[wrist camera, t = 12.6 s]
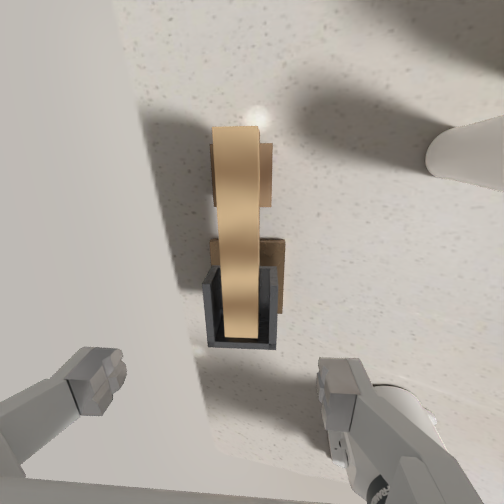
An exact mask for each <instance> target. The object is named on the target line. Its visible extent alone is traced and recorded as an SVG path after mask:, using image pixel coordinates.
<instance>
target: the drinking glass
mask: <svg viewBox="0 0 504 504" xmlns="http://www.w3.org/2000/svg"><path fill="white" fill-rule="evenodd" d="M425 162H426V167H427V169H428V171H429V172H430V173H431V174H432V175H433V176H435V177H437V178H441V179H448V180H454V181H459V182H463V183H467V184H471V185H476V186H480V187H484V188H488V189H492V190H496V191H500V192H504V115H501V116H497V117H494V118H491V119H487V120H484V121H480V122H476V123H473V124H469V125H466V126H460V127H455V128H451V129H448V130H446V131H444V132H443V133H441V134H440V135H438V136H437V137H436V138H435V139H434V140H433V141H432V143H431V144H430V146H429V148H428V150H427V153H426V158H425Z"/></svg>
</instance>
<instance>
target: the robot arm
mask: <svg viewBox="0 0 504 504" xmlns="http://www.w3.org/2000/svg"><path fill="white" fill-rule="evenodd" d="M122 357H123V353H122V351H121V350H120V349H113V348H99V347H83V348H81V349H79V350H78V351H77V352H76V353H75V354H74V355H73V356H72V357H71V358H70V359H69V360H68V361H67V362H66V363H65V364H64V365H63V366H62V367H61V368H60V369H59V370H58V371H57V372H56V373H55V374H54V375H53V376H52V377H51V378H50V379H44V380H42V381H40V382H38V383H36V384H35V385H33V386H31V387H29V388H27V389H25V390H23V391H21V392H20V393H17V394H15V395H14V396H12V397H10V398H8V399H6V400H4V401H2V402H0V504H330V503H318V502H306V501H305V502H304V501H294V500H282V499H269V498H258V497H246V496H233V495H222V494H210V493H197V492H186V491H174V490H162V489H150V488H138V487H125V486H113V485H101V484H89V483H77V482H65V481H52V480H41V479H28V478H25V477H26V476H25V473H24V471H23V469H22V468H21V466H20V465H21V464H22V463H23V462H24V461H26V460H27V459H28V458H29V457H31V456H32V455H33V454H34V453H35V452H37V451H38V450H39V449H41V448H42V447H43V446H44V445H46V444H47V443H48V442H49V441H51V440H52V439H53V438H54V437H56V436H57V435H58V434H59V433H60V432H62V431H63V430H64V429H66V428H67V427H68V426H69V425H71V424H72V423H73V422H74V421H75V420H77V419H78V418H79V417H80V415H84V416H102V415H103V413H104V412H105V411H106V409H107V408H108V406H109V404H110V403H111V402H112V400H113V393H115V392H116V391H118V390H119V389H120V388H121V386H122V385H123V383H124V381H125V378H126V372H127V371H126V365H125V363H124V362H122V361H121V359H122ZM318 367H319V372H318V373H317V379H316V384H317V394H318V399H319V401H320V402H321V403H322V408H321V414H322V418H323V423H324V428H325V430H327V432H328V439H329V447H330V454H331V458H332V462H333V463H334V464H335V465H337V466H340V467H342V468H346V471H347V475H348V479H349V482H350V486H351V488H352V490H353V491H354V492H355V493H357V494H358V495H359V496H361V497H362V498H363V499H365V500H366V501H367V504H484V503H483V502H482V500H481V498H480V497H479V495H478V494H477V492H476V490H475V489H474V487H473V486H472V484H471V482H470V481H469V479H468V478H467V476H466V474H465V473H464V471H463V470H462V468H461V467H460V465H459V463H458V462H457V460H456V459H455V458H454V457H453V456H452V455H451V454H449V453H448V451H447V449H446V447H445V445H444V443H443V441H442V439H441V437H440V436H439V434H438V432H437V430H436V428H435V425H436V424H437V419H436V418H435V416H434V414H433V413H432V412H430V411H429V410H427V409H425V408H424V407H423V406H422V405H421V403H420V401H419V400H418V398H417V397H416V396H415V395H413V394H412V393H410V392H409V391H407V390H404V389H402V388H398V387H393V386H375V387H373V385H372V383H371V381H370V379H369V377H368V375H367V372H366V370H365V368H364V366H363V364H362V362H361V360H360V359H359V358H328V357H319V360H318Z"/></svg>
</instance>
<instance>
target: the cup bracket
mask: <svg viewBox="0 0 504 504" xmlns="http://www.w3.org/2000/svg"><path fill="white" fill-rule="evenodd" d="M209 243H210V256H211V268H210V270H209V272H208V274H207V276H206V278H205V280H204V282H203V283H202V288H203V299H204V310H205V320H206V331H207V341H208V347H217V348H241V349H265V350H276V338H277V313H278V314H282V307H283V284H284V262H285V240H266V239H259V325H258V338H236V337H225V330H224V314H223V298H222V282H221V265H220V249H219V239H211V240H210V242H209Z"/></svg>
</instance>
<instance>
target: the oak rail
mask: <svg viewBox="0 0 504 504" xmlns="http://www.w3.org/2000/svg"><path fill="white" fill-rule="evenodd" d="M212 136H213V152H214V168H215V184H216V201H217V217H218V233H219V249H220V265H221V282H222V298H223V314H224V330H225V337H236V338H258V325H259V210H260V132H259V129H258V126H233V127H212Z"/></svg>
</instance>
